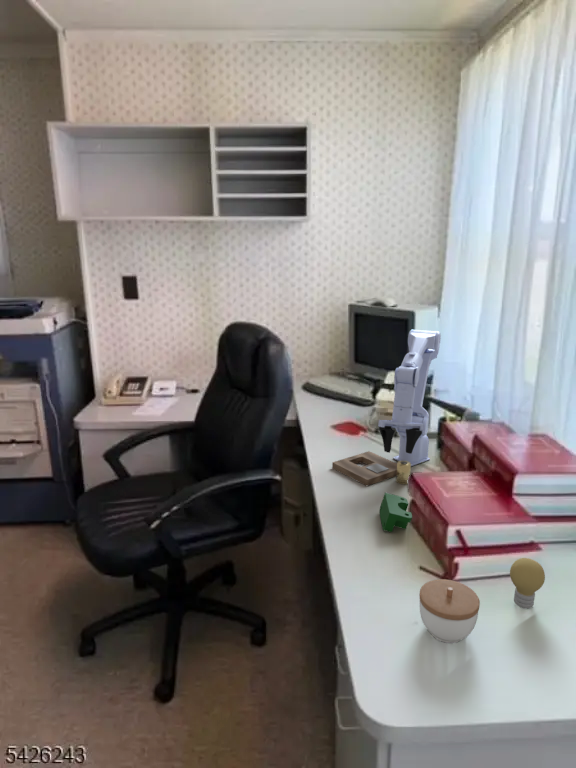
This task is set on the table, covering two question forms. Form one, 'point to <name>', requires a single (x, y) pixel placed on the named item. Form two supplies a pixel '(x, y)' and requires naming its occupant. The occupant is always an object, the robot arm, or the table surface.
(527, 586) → the light bulb
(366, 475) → the jig plate
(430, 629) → the lidded jar
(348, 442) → the table surface
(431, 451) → the table surface
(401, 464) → the brass bushing
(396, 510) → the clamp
